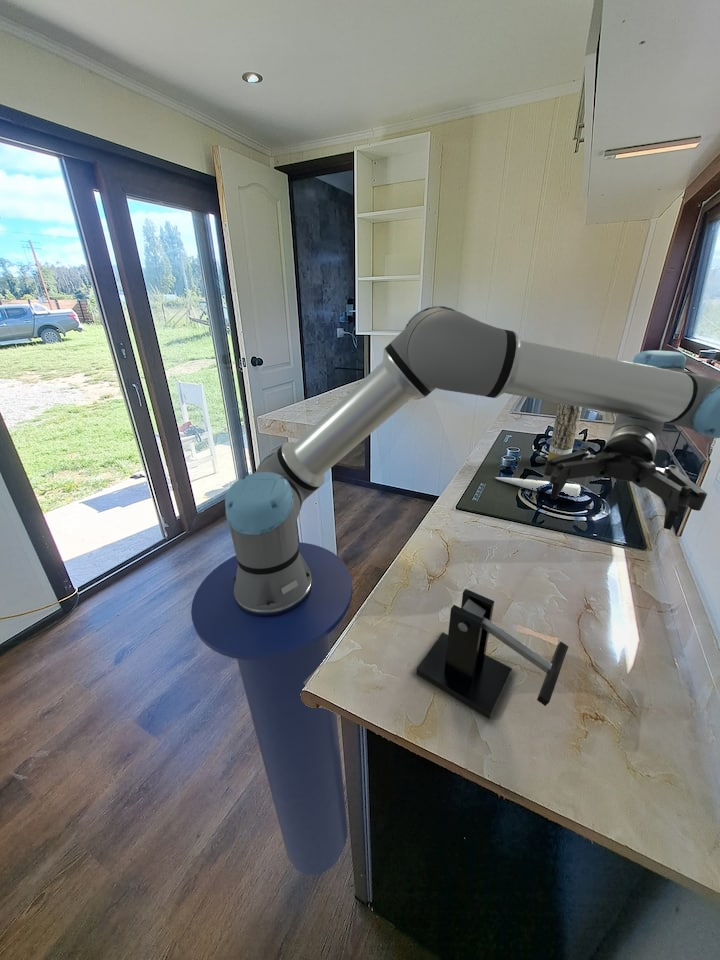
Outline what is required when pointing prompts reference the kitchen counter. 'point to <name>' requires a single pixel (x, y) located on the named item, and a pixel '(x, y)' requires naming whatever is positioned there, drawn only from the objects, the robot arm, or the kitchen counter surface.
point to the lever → (526, 652)
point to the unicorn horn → (529, 484)
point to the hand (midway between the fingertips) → (608, 504)
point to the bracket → (466, 659)
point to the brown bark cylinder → (564, 430)
